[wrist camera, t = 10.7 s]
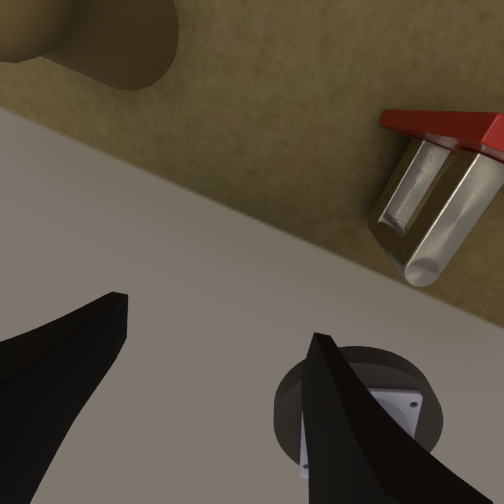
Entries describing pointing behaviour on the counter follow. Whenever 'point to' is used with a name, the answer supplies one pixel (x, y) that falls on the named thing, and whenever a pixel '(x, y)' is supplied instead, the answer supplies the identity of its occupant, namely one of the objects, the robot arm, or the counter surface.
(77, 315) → the robot arm
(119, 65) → the brown pawn figure
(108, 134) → the counter surface
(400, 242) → the valve door
